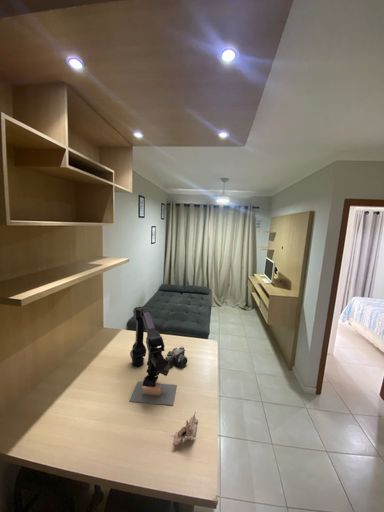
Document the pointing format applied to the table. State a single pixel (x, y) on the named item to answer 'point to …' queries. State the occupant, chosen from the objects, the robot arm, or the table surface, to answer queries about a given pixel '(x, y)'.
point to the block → (152, 390)
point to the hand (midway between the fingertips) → (152, 387)
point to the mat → (163, 399)
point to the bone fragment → (186, 431)
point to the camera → (177, 357)
